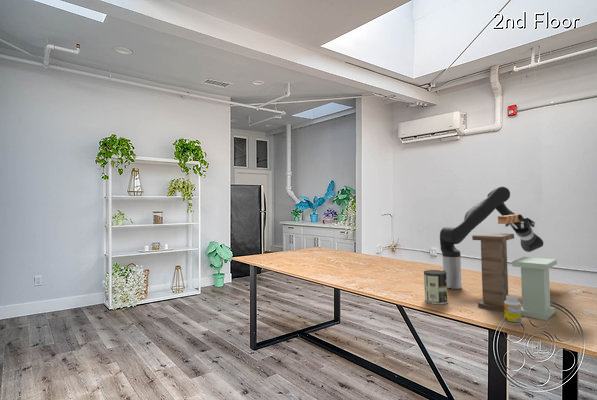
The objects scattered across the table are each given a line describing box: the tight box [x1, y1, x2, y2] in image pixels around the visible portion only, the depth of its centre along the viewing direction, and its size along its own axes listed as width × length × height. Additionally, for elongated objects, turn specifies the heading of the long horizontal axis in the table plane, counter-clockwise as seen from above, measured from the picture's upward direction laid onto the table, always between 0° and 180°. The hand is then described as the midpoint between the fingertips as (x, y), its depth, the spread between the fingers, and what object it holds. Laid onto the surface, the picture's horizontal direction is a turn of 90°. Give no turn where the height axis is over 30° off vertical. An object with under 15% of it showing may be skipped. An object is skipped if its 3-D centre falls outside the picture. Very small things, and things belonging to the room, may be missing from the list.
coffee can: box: [423, 269, 449, 305], centre depth 166 cm, size 10×10×14 cm
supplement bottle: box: [503, 294, 522, 326], centre depth 134 cm, size 6×6×10 cm
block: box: [497, 213, 523, 225], centre depth 171 cm, size 24×4×4 cm, turn 133°
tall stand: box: [471, 232, 515, 313], centre depth 156 cm, size 16×12×32 cm
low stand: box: [511, 256, 558, 321], centre depth 145 cm, size 16×12×22 cm
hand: (514, 215), depth 176 cm, fingers closed on block, 3 cm apart
